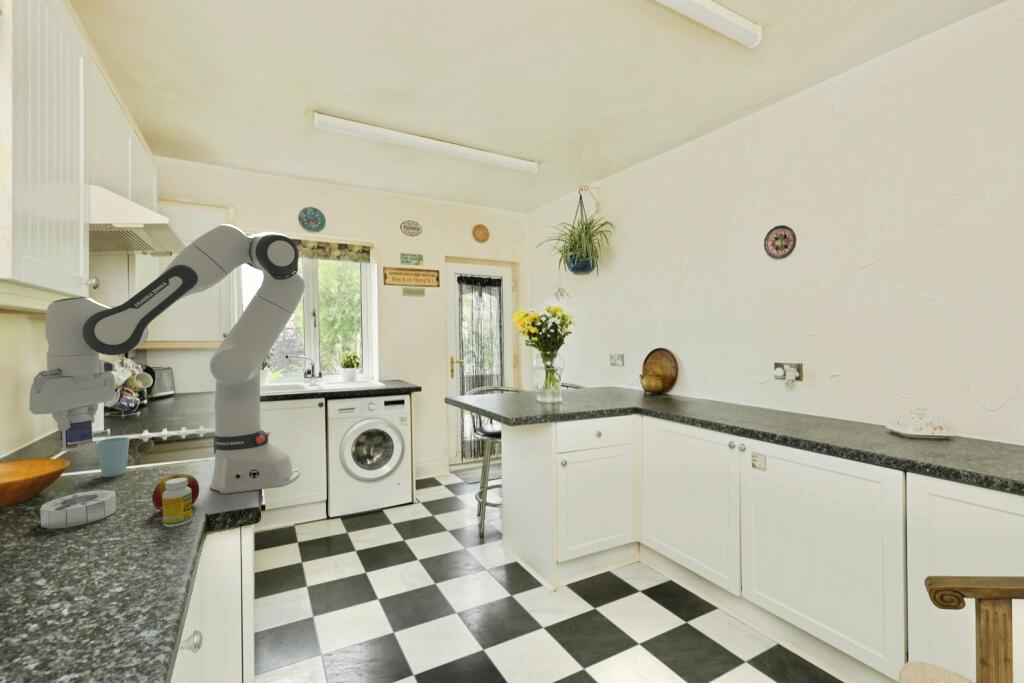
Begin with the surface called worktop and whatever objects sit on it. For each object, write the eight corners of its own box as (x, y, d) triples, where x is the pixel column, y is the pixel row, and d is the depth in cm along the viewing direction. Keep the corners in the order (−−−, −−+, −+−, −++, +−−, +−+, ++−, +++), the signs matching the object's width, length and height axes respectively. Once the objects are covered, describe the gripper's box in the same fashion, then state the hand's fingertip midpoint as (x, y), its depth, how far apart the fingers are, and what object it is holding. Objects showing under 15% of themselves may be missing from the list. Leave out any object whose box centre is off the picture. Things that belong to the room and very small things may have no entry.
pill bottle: (99, 446, 110) (97, 405, 110) (75, 452, 105) (73, 409, 104) (79, 445, 111) (77, 405, 110) (54, 451, 105) (52, 409, 105)
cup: (124, 476, 138) (122, 441, 137) (92, 479, 135) (90, 444, 135) (135, 469, 145) (133, 436, 144) (105, 472, 142) (103, 438, 142)
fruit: (183, 516, 107) (181, 482, 107) (142, 518, 106) (141, 483, 106) (208, 501, 116) (206, 469, 116) (170, 502, 116) (169, 470, 116)
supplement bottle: (169, 519, 105) (168, 477, 105) (196, 516, 107) (195, 475, 106) (158, 529, 100) (156, 485, 100) (187, 526, 101) (185, 482, 101)
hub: (128, 504, 115) (127, 487, 114) (90, 526, 102) (89, 506, 102) (71, 508, 113) (70, 491, 113) (25, 530, 100) (24, 511, 100)
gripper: (51, 371, 97) (54, 436, 98) (119, 363, 117) (122, 417, 118) (17, 372, 96) (20, 437, 97) (92, 364, 117) (94, 419, 117)
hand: (77, 426), depth 107 cm, fingers closed on pill bottle, 5 cm apart
